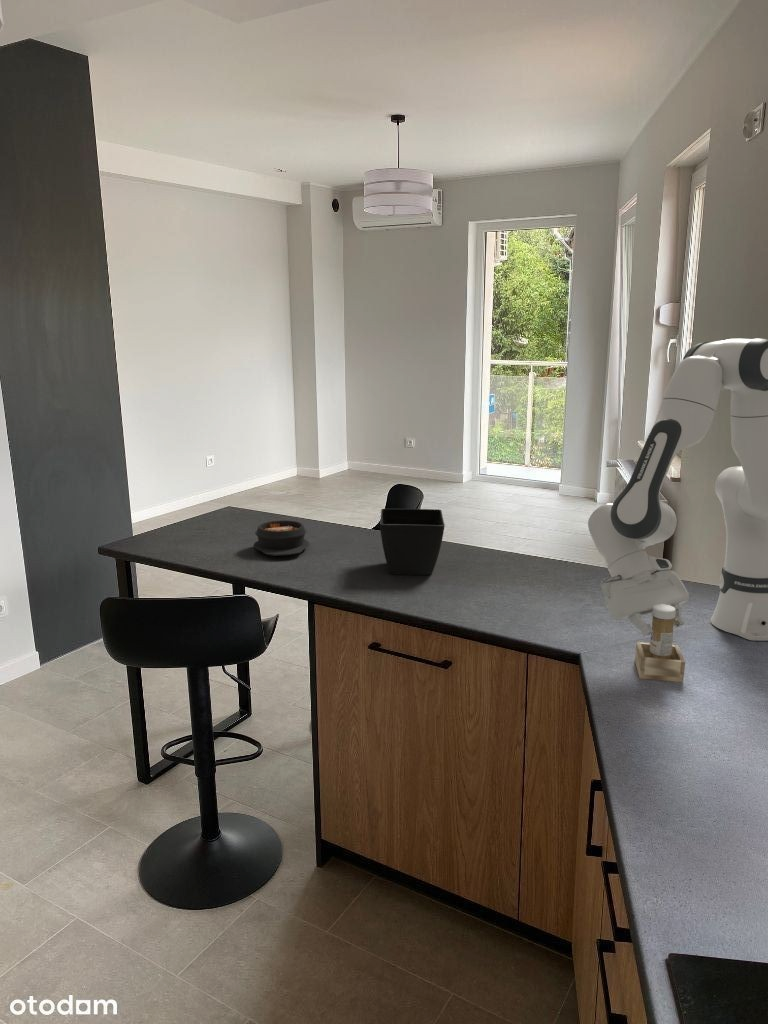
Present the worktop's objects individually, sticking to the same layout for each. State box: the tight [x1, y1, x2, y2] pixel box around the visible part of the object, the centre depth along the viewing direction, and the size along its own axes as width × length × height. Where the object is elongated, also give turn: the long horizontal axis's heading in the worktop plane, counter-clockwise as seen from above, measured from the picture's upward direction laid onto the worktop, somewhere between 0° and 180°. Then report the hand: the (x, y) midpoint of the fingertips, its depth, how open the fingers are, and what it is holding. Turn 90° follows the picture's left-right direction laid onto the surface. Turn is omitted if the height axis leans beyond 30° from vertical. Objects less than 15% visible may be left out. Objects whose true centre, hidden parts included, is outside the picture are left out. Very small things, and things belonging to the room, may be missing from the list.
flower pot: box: [379, 508, 446, 576], centre depth 222 cm, size 19×19×17 cm
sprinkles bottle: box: [649, 604, 676, 659], centre depth 154 cm, size 5×5×13 cm
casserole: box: [252, 520, 310, 557], centre depth 243 cm, size 25×19×8 cm
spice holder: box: [634, 641, 686, 683], centre depth 155 cm, size 9×9×4 cm
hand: (664, 630), depth 153 cm, fingers open, 8 cm apart
